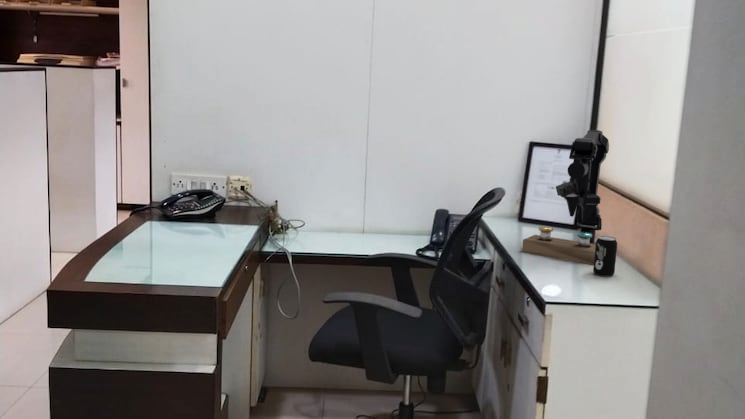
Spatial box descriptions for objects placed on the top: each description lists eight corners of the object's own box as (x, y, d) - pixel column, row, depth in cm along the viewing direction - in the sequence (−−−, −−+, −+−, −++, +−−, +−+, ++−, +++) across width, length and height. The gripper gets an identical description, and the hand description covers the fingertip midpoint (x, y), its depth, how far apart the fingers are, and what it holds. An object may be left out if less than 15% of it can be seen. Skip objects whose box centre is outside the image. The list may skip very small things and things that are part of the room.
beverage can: (615, 277, 235) (619, 240, 233) (593, 275, 237) (597, 239, 235) (613, 272, 242) (616, 236, 240) (592, 270, 243) (595, 234, 241)
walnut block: (534, 246, 274) (535, 234, 274) (604, 258, 261) (605, 245, 260) (521, 252, 264) (522, 239, 264) (594, 264, 251) (595, 251, 250)
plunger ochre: (540, 239, 269) (541, 225, 268) (553, 241, 266) (555, 227, 265) (535, 241, 265) (536, 227, 264) (549, 243, 262) (550, 229, 261)
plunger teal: (578, 245, 262) (579, 231, 261) (592, 247, 259) (594, 233, 258) (574, 248, 257) (575, 233, 256) (588, 250, 255) (589, 235, 254)
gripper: (548, 171, 264) (544, 213, 267) (572, 179, 246) (568, 225, 249) (577, 170, 266) (573, 213, 269) (603, 179, 248) (598, 225, 251)
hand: (577, 219), depth 260 cm, fingers open, 9 cm apart
